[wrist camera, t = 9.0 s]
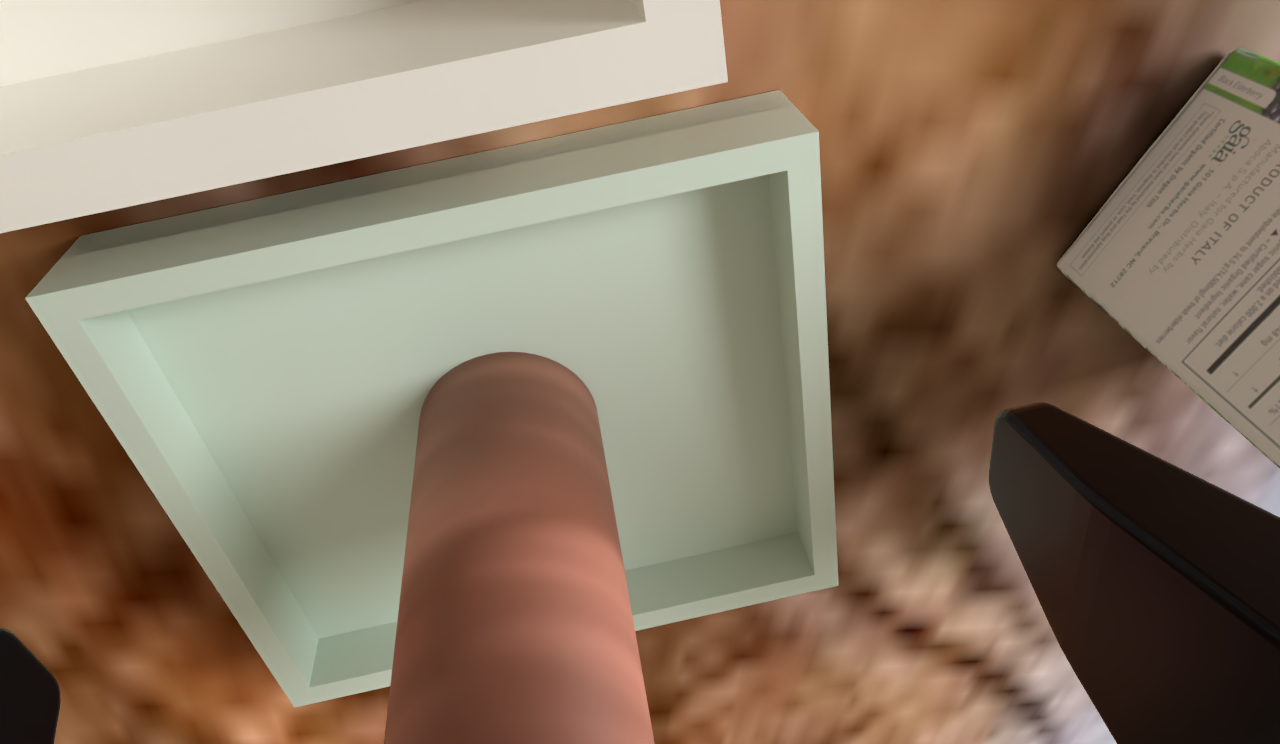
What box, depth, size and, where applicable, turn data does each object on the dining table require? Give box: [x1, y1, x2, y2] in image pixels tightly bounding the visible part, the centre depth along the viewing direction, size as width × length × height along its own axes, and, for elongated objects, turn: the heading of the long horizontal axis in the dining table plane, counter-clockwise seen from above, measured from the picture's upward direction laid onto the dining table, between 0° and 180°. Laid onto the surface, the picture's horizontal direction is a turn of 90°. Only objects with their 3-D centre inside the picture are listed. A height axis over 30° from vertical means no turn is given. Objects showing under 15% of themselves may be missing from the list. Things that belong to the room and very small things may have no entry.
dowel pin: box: [384, 352, 654, 744], centre depth 16 cm, size 4×4×10 cm
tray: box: [25, 90, 839, 707], centre depth 20 cm, size 14×12×2 cm
